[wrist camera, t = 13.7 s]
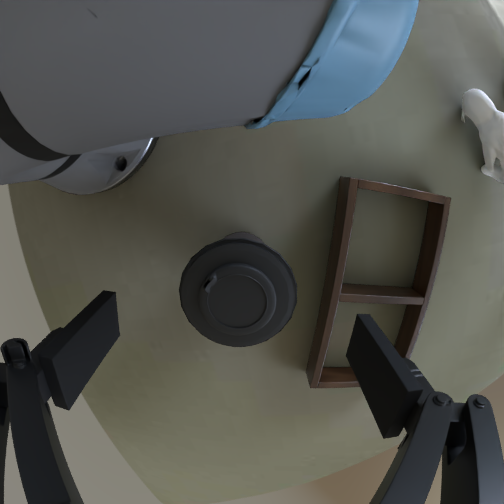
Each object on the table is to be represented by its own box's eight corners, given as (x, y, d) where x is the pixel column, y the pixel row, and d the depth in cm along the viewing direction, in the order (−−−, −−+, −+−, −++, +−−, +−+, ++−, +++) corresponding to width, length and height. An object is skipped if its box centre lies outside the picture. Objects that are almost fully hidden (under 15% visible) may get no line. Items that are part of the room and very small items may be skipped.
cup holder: (305, 372, 32) (310, 388, 30) (339, 176, 27) (350, 177, 24) (390, 370, 33) (399, 384, 30) (435, 194, 27) (451, 197, 24)
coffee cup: (202, 213, 28) (177, 235, 18) (289, 222, 28) (309, 249, 18) (197, 294, 30) (174, 348, 20) (278, 302, 30) (289, 359, 20)
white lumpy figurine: (539, 200, 18) (482, 92, 17) (491, 196, 27) (438, 111, 26) (559, 165, 17) (506, 66, 16) (514, 166, 26) (464, 86, 24)
